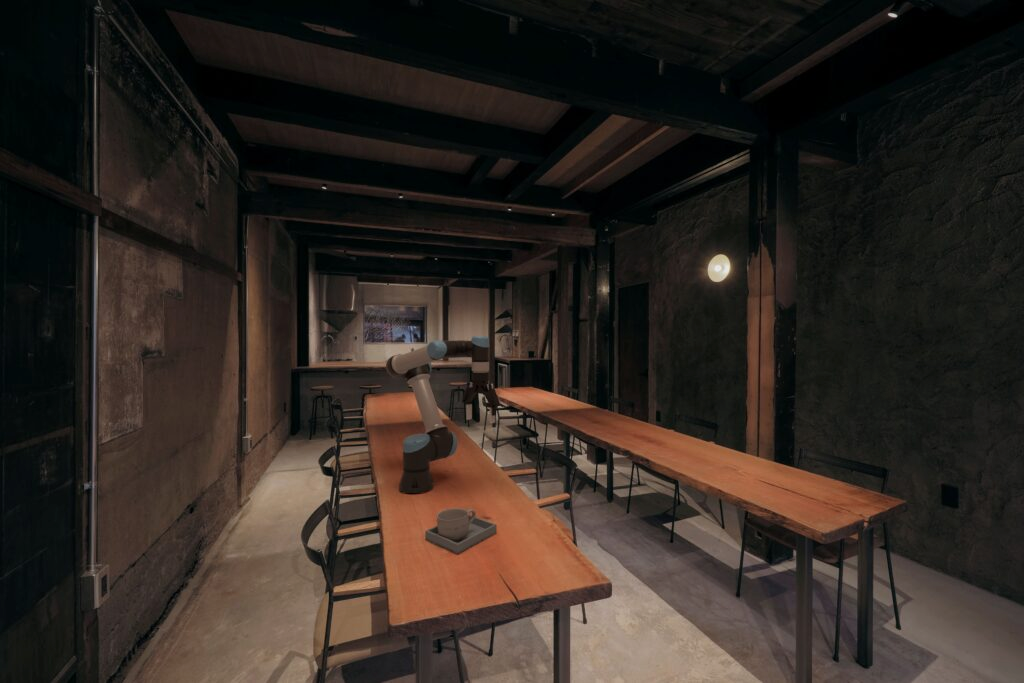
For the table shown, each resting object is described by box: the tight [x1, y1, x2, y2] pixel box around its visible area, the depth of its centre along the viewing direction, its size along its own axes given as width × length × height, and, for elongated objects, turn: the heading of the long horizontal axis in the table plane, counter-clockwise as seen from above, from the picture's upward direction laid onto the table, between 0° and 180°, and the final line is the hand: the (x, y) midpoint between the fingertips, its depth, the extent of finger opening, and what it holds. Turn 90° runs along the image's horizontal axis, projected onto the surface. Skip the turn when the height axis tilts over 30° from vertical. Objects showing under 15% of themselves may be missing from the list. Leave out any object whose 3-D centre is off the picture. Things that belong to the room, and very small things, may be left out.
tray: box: [424, 514, 497, 555], centre depth 142 cm, size 15×18×3 cm
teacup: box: [436, 507, 477, 541], centre depth 141 cm, size 14×11×8 cm
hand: (480, 421), depth 180 cm, fingers open, 13 cm apart
